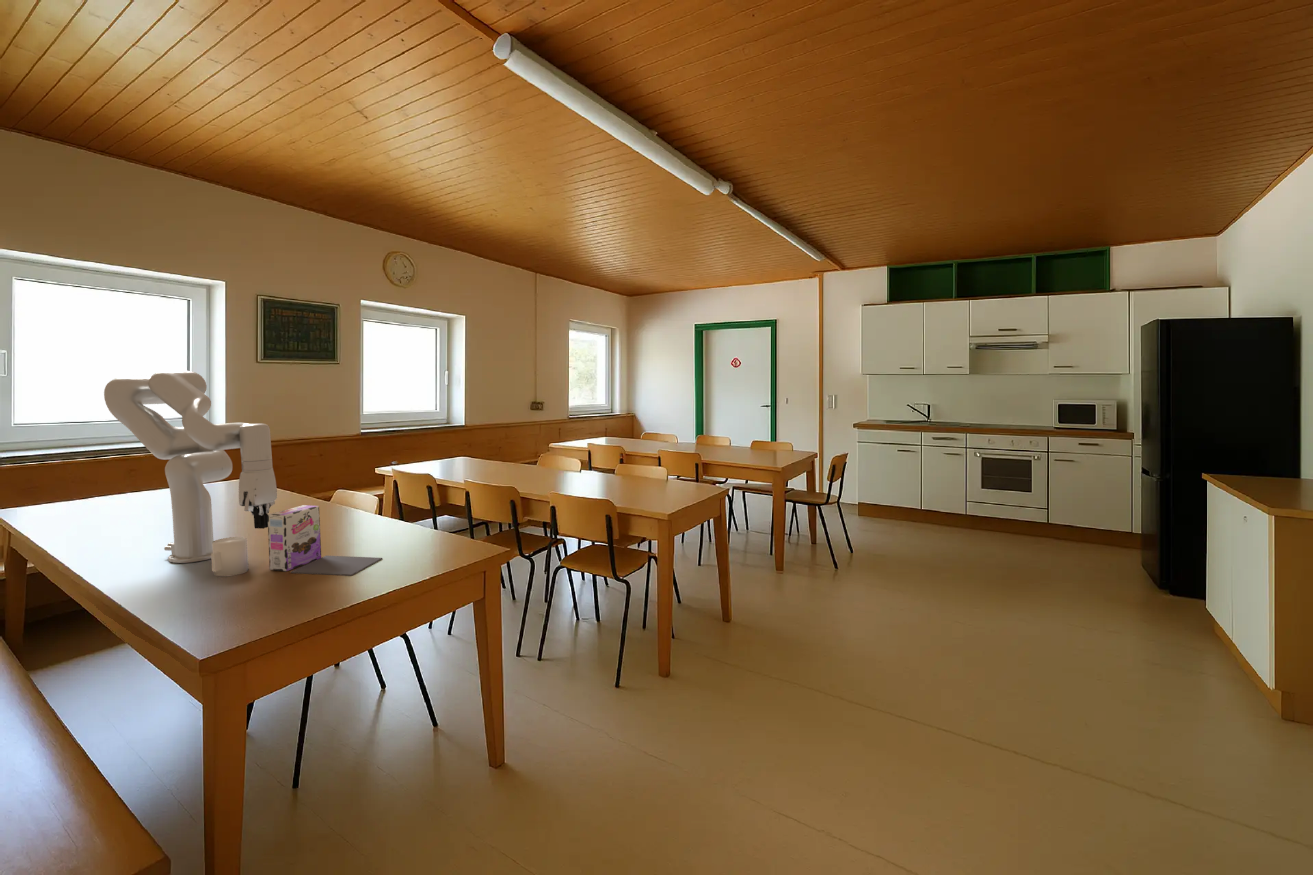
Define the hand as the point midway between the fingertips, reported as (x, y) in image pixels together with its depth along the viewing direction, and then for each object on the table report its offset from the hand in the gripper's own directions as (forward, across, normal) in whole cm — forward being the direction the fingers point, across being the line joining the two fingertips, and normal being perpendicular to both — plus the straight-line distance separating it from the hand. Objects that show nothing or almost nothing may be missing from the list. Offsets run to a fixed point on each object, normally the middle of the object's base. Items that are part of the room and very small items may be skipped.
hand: (261, 527), depth 180 cm
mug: (+10, +9, -3) cm, 14 cm away
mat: (+11, 0, +23) cm, 26 cm away
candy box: (+11, 0, +10) cm, 15 cm away
